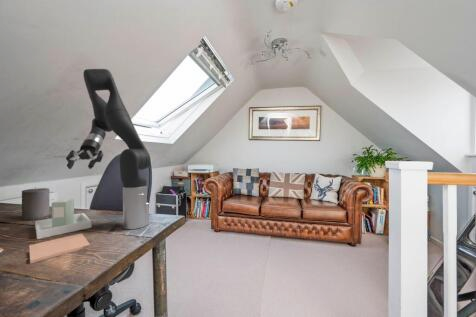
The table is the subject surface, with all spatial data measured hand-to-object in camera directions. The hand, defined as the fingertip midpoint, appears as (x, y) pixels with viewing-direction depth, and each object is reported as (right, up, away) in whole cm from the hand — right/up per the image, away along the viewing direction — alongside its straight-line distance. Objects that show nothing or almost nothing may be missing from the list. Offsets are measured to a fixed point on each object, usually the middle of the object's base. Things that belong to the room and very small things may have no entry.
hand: (79, 167), depth 94 cm
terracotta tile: (+14, -25, -26) cm, 39 cm away
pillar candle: (-25, -25, +5) cm, 35 cm away
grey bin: (+2, -25, -11) cm, 27 cm away
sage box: (+2, -24, -11) cm, 26 cm away
